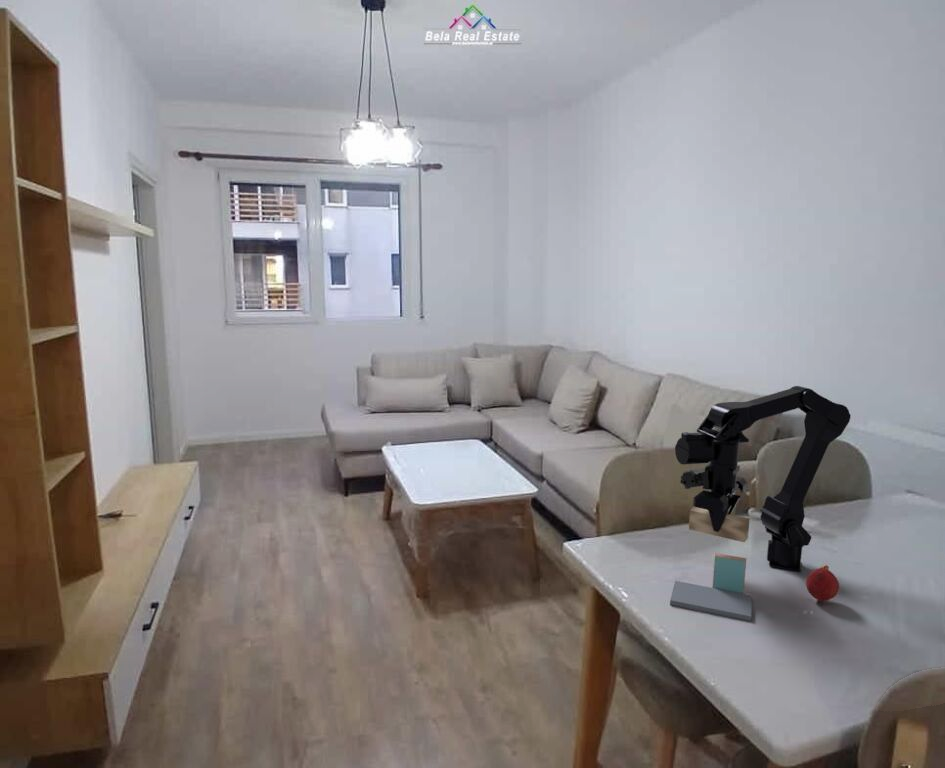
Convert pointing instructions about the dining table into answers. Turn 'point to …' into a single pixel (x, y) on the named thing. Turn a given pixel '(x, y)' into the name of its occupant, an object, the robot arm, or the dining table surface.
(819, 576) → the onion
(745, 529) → the curved wooden plank
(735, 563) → the tile
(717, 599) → the mat
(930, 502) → the dining table surface
